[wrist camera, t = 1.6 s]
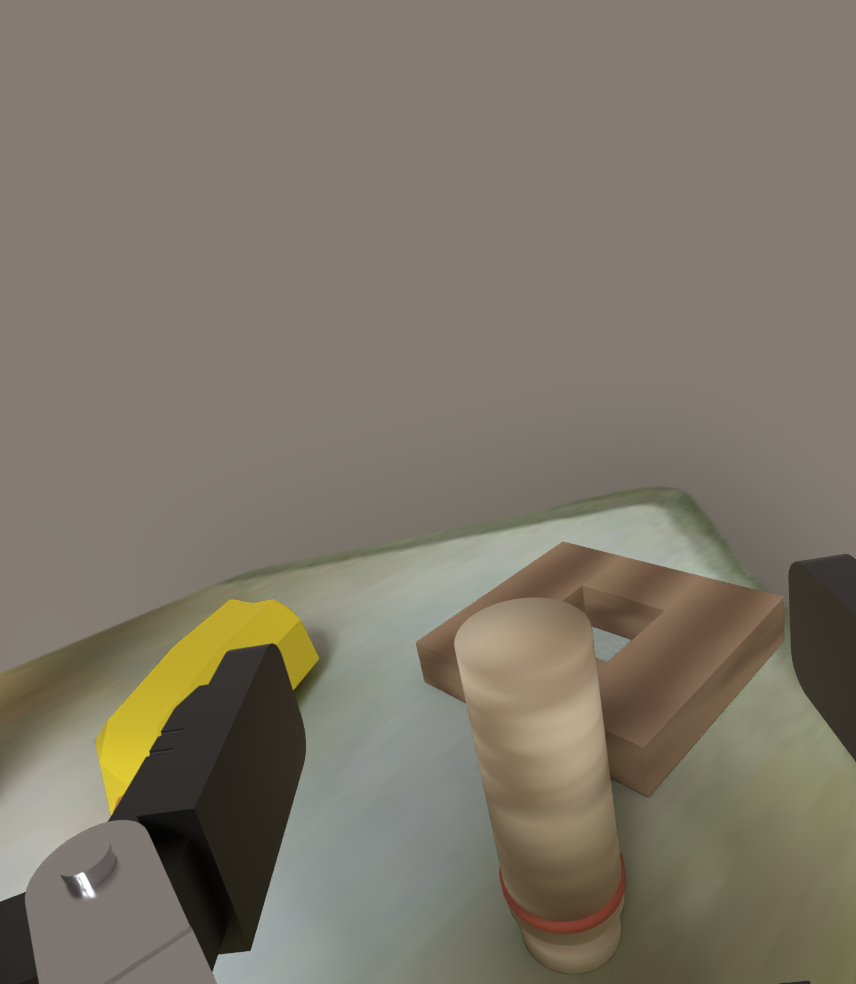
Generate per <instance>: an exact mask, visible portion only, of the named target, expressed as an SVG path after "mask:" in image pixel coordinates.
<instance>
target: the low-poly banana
mask: <svg viewBox="0 0 856 984" xmlns="http://www.w3.org/2000/svg"><path fill="white" fill-rule="evenodd" d="M271 643H273V644H275V645H277V647H278V648H279V650H280V652H281V654H282V656H283V659H284V663H285V666H286V669H287V672H288V675H289V679H290V682H291V685H292V688H293V690H294V689H295V688H296V687H297V686H298V684H299V683H300V682H301V681H302V680H303V678H304V677H305V676H306V675H307V674H308V672H309V671H310V670H311V669H312V667H313V666H314V665H315V664H316V662H317V661H318V660H319V657H318V655H317V653H316V650H315V648H314V646H313V644H312V642H311V640H310V638H309V636H308V634H307V632H306V629H305V627H304V625H303V623H302V621H301V619H300V618H299V617H298V616H297V615H296V614H295V613H294V612H293V611H292V610H291V609H290V608H289V607H287V606H285V605H283V604H281V603H280V602H278V601H276V600H274V599H270V600H265V601H261V602H256V603H249V602H244V601H239V600H233V599H230V600H229V601H227V602H226V603H225V604H224V605H223V606H221V607H220V608H219V609H218V610H217V611H215V612H214V613H213V614H212V615H211V616H209V617H208V618H207V619H206V620H205V621H203V622H202V623H201V624H200V625H199V626H197V627H196V628H195V629H194V630H193V631H191V632H190V633H189V634H188V635H187V636H185V637H184V638H183V639H182V640H181V641H179V642H178V643H177V644H176V645H175V646H174V647H173V648H172V649H171V650H170V651H169V652H168V653H167V654H166V656H165V657H164V658H163V659H162V660H161V661H160V662H159V663H158V664H157V666H156V667H155V668H154V669H153V670H152V671H151V672H150V673H149V675H148V676H147V677H146V678H145V679H144V680H143V681H142V682H141V684H140V685H139V686H138V687H137V688H136V689H135V690H134V691H133V693H132V694H131V695H130V696H129V697H128V698H127V699H126V700H125V702H124V703H123V704H122V705H121V706H120V707H119V708H118V709H117V711H116V712H115V713H114V714H113V715H112V716H111V717H110V718H109V720H108V721H107V722H106V724H105V726H104V727H103V729H102V730H101V732H100V733H99V735H98V737H97V738H96V740H95V741H94V742H95V746H96V750H97V754H98V758H99V762H100V766H101V771H102V775H103V780H104V785H105V790H106V794H107V799H108V804H109V809H110V813H111V815H112V814H113V812H114V810H115V809H116V807H117V805H118V803H119V802H120V800H121V798H122V797H123V795H124V793H125V792H126V790H127V788H128V786H129V785H130V783H131V781H132V780H133V778H134V776H135V775H136V773H137V771H138V769H139V768H140V766H141V764H142V763H143V761H144V759H145V758H146V756H149V755H150V753H149V751H150V749H151V747H152V746H153V744H154V742H155V741H156V739H157V737H158V736H161V730H162V729H163V727H164V725H165V723H166V722H167V720H168V718H169V717H170V715H171V713H172V712H173V710H174V708H175V707H176V706H177V705H178V704H179V703H181V702H182V701H183V700H184V699H185V698H186V697H187V696H188V695H189V694H190V693H191V692H193V691H194V690H195V689H196V688H197V687H198V686H200V685H207V684H209V682H210V680H211V678H212V677H213V675H214V673H215V671H216V669H217V667H218V666H219V664H220V662H221V660H222V658H223V656H224V655H225V653H226V652H227V651H229V650H233V649H239V648H245V647H252V646H258V645H264V644H271Z"/></svg>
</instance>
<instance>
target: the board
mask: <svg viewBox="0 0 856 984" xmlns="http://www.w3.org/2000/svg"><path fill="white" fill-rule="evenodd" d="M520 598H548V599H554V600H559V601H562V602H565V603H568V604H571V605H572V606H574V607H576V608H578V609H579V610H581V611H582V612H583V613H584V614H585V615H586V616H587V618H588V619H589V621H590V623H591V626H594V627H597V628H599V629H602V630H605V631H608V632H611V633H614V634H617V635H620V636H623V637H626V638H629V639H631V640H632V641H631V642H629V643H628V644H627V645H626V646H625V647H624V648H623V649H622V650H621V651H619V652H618V653H617V654H616V655H615V656H614V657H613V658H612V659H611V660H609V661H608V662H605V661H603V660H600V659H597V658H596V666H597V674H598V682H599V690H600V698H601V706H602V714H603V722H604V730H605V738H606V746H607V754H608V762H609V770H610V778H612V779H614V780H616V781H618V782H620V783H622V784H624V785H626V786H627V787H629V788H631V789H633V790H635V791H637V792H639V793H641V794H643V795H645V796H647V797H649V796H650V795H651V794H652V793H653V792H654V790H655V789H656V788H657V787H658V786H659V785H660V784H661V782H662V781H663V780H664V779H665V778H666V777H667V775H668V774H669V773H670V772H671V771H672V770H673V768H674V767H675V766H676V765H677V764H678V763H679V762H680V760H681V759H682V758H683V757H684V756H685V755H686V753H687V752H688V751H689V750H690V749H691V748H692V747H693V745H694V744H695V743H696V742H697V741H698V740H699V738H700V737H701V736H702V735H703V734H704V733H705V731H706V730H707V729H708V728H709V727H710V726H711V725H712V723H713V722H714V721H715V720H716V719H717V718H718V716H719V715H720V714H721V713H722V712H723V711H724V710H725V708H726V707H727V706H728V705H729V704H730V703H731V701H732V700H733V699H734V698H735V697H736V696H737V694H738V693H739V692H740V691H741V690H742V689H743V688H744V686H745V685H746V684H747V683H748V682H749V681H750V679H751V678H752V677H753V676H754V675H755V674H756V672H757V671H758V670H759V669H760V668H761V667H762V666H763V664H764V663H765V662H766V661H767V660H768V659H769V657H770V656H771V655H772V654H773V653H774V652H775V651H776V649H777V648H778V647H779V646H780V645H781V644H782V642H783V641H784V597H782V596H778V595H774V594H770V593H766V592H762V591H758V590H754V589H750V588H746V587H742V586H738V585H734V584H730V583H726V582H722V581H718V580H714V579H710V578H706V577H702V576H698V575H694V574H690V573H686V572H682V571H678V570H674V569H670V568H666V567H662V566H658V565H654V564H650V563H646V562H642V561H638V560H634V559H630V558H626V557H622V556H618V555H614V554H610V553H606V552H602V551H598V550H594V549H590V548H586V547H582V546H578V545H574V544H570V543H566V542H561V543H560V544H559V545H557V546H556V547H554V548H553V549H551V550H550V551H548V552H547V553H545V554H544V555H542V556H541V557H540V558H538V559H537V560H535V561H534V562H532V563H531V564H529V565H528V566H526V567H525V568H524V569H522V570H521V571H519V572H518V573H516V574H515V575H513V576H512V577H510V578H509V579H507V580H506V581H505V582H503V583H502V584H500V585H499V586H497V587H496V588H494V589H493V590H491V591H490V592H489V593H487V594H486V595H484V596H483V597H481V598H480V599H478V600H477V601H475V602H474V603H473V604H471V605H470V606H468V607H467V608H465V609H464V610H462V611H461V612H459V613H458V614H456V615H455V616H454V617H452V618H451V619H449V620H448V621H446V622H445V623H443V624H442V625H440V626H439V627H438V628H436V629H435V630H433V631H432V632H430V633H429V634H427V635H426V636H424V637H423V638H421V639H420V640H419V641H417V642H416V646H417V650H418V655H419V659H420V663H421V668H422V672H423V676H424V680H425V682H426V683H428V684H430V685H432V686H434V687H436V688H438V689H440V690H442V691H444V692H445V693H447V694H449V695H451V696H453V697H455V698H457V699H459V700H461V701H463V702H465V703H466V700H465V695H464V690H463V685H462V681H461V676H460V671H459V666H458V661H457V657H456V652H455V646H454V641H455V637H456V634H457V632H458V630H459V628H460V627H461V626H462V624H463V623H464V622H465V621H466V620H467V619H469V618H470V617H471V616H472V615H474V614H475V613H477V612H479V611H480V610H482V609H484V608H486V607H489V606H491V605H494V604H497V603H500V602H504V601H508V600H513V599H520Z"/></svg>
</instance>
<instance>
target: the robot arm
mask: <svg viewBox="0 0 856 984" xmlns="http://www.w3.org/2000/svg"><path fill="white" fill-rule="evenodd" d="M789 605H790V633H791V654H792V661H793V665H794V669H795V672H796V675H797V678H798V681H799V683H800V685H801V687H802V689H803V691H804V693H805V694H806V696H807V697H808V698H809V700H810V701H811V702H812V704H813V705H814V706H815V708H816V709H817V710H818V712H819V713H820V714H821V716H822V717H823V718H824V720H825V721H826V722H827V724H828V725H829V726H830V728H831V729H832V730H833V732H834V733H835V734H836V736H837V737H838V738H839V740H840V741H841V743H842V744H843V745H844V747H845V748H846V749H847V751H848V752H849V753H850V755H851V756H852V757H853V759H854V760H855V761H856V559H855V558H853V557H852V556H850V555H848V554H842V555H835V556H829V557H823V558H817V559H810V560H804V561H797V562H794V563H792V565H791V567H790V570H789ZM149 753H150V755H149V756H146V758H145V759H144V761H143V763H142V764H141V766H140V768H139V769H138V771H137V773H136V775H135V776H134V778H133V780H132V781H131V783H130V785H129V786H128V788H127V790H126V792H125V793H124V795H123V797H122V798H121V800H120V802H119V803H118V805H117V807H116V809H115V810H114V812H113V814H112V815H111V817H110V819H109V821H108V822H106V823H102V824H99V825H96V826H94V827H91V828H89V829H87V830H85V831H83V832H81V833H79V834H77V835H76V836H74V837H72V838H71V839H69V840H68V841H66V842H65V843H64V844H62V845H61V846H59V847H58V848H57V849H56V850H55V851H54V852H53V853H51V854H50V855H49V856H48V857H47V858H46V859H45V860H44V862H43V863H42V864H41V865H40V866H39V868H38V869H37V870H36V872H35V873H34V875H33V876H32V878H31V880H30V882H29V884H28V887H27V890H26V892H24V893H22V894H19V895H17V896H14V897H11V898H9V899H6V900H4V901H1V902H0V984H217V983H216V980H215V978H214V976H213V974H212V971H213V968H214V965H215V962H216V959H217V956H218V954H226V953H235V952H244V951H251V947H252V944H253V940H254V937H255V933H256V930H257V926H258V923H259V919H260V916H261V912H262V909H263V905H264V902H265V898H266V895H267V891H268V888H269V884H270V881H271V877H272V874H273V870H274V867H275V863H276V860H277V856H278V853H279V849H280V846H281V842H282V839H283V835H284V832H285V828H286V825H287V821H288V818H289V814H290V811H291V807H292V804H293V800H294V797H295V793H296V790H297V786H298V783H299V779H300V776H301V772H302V769H303V765H304V761H305V754H306V738H305V729H304V724H303V720H302V717H301V714H300V711H299V707H298V704H297V701H296V698H295V695H294V691H293V688H292V685H291V682H290V679H289V675H288V672H287V669H286V666H285V663H284V659H283V656H282V654H281V652H280V650H279V648H278V647H277V645H275V644H273V643H271V644H264V645H258V646H252V647H245V648H239V649H233V650H229V651H227V652H226V653H225V655H224V656H223V658H222V660H221V662H220V664H219V666H218V667H217V669H216V671H215V673H214V675H213V677H212V678H211V680H210V682H209V684H207V685H200V686H198V687H197V688H196V689H195V690H194V691H193V692H191V693H190V694H189V695H188V696H187V697H186V698H185V699H184V700H183V701H182V702H181V703H179V704H178V705H177V706H176V707H175V708H174V710H173V712H172V713H171V715H170V717H169V718H168V720H167V722H166V723H165V725H164V727H163V729H162V730H161V736H158V737H157V739H156V741H155V742H154V744H153V746H152V747H151V749H150V751H149ZM781 984H810V981H801V982H791V983H781Z"/></svg>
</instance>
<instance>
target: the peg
mask: <svg viewBox="0 0 856 984" xmlns="http://www.w3.org/2000/svg"><path fill="white" fill-rule="evenodd" d="M454 646H455V652H456V657H457V661H458V666H459V671H460V676H461V681H462V685H463V690H464V695H465V700H466V705H467V709H468V714H469V719H470V724H471V729H472V733H473V738H474V743H475V748H476V753H477V757H478V762H479V767H480V772H481V777H482V781H483V786H484V791H485V796H486V801H487V805H488V810H489V815H490V820H491V825H492V829H493V834H494V839H495V844H496V849H497V853H498V858H499V863H500V880H501V885H502V890H503V893H504V896H505V899H506V901H507V903H508V905H509V908H510V911H511V913H512V915H513V917H514V918H515V920H516V921H517V923H518V924H519V925H520V927H521V932H522V937H523V940H524V943H525V945H526V947H527V949H528V950H529V952H530V953H531V954H532V956H533V957H534V958H535V959H536V960H537V961H538V962H540V963H541V964H542V965H544V966H545V967H547V968H549V969H551V970H554V971H557V972H560V973H565V974H581V973H586V972H590V971H592V970H595V969H597V968H599V967H600V966H602V965H603V964H605V963H606V962H607V961H608V960H609V959H610V958H611V957H612V956H613V954H614V953H615V951H616V949H617V947H618V945H619V942H620V938H621V921H620V914H621V911H622V908H623V905H624V898H625V893H624V891H625V884H626V882H625V869H624V863H623V858H622V856H621V853H620V851H619V843H618V835H617V826H616V818H615V810H614V802H613V794H612V786H611V778H610V770H609V762H608V754H607V746H606V738H605V730H604V722H603V714H602V706H601V698H600V690H599V682H598V674H597V666H596V658H595V650H594V642H593V633H592V627H591V623H590V621H589V619H588V618H587V616H586V615H585V614H584V613H583V612H582V611H581V610H579V609H578V608H576V607H574V606H572V605H571V604H568V603H565V602H562V601H559V600H554V599H548V598H520V599H513V600H508V601H504V602H500V603H497V604H494V605H491V606H489V607H486V608H484V609H482V610H480V611H479V612H477V613H475V614H474V615H472V616H471V617H470V618H469V619H467V620H466V621H465V622H464V623H463V624H462V626H461V627H460V628H459V630H458V632H457V634H456V637H455V641H454Z"/></svg>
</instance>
